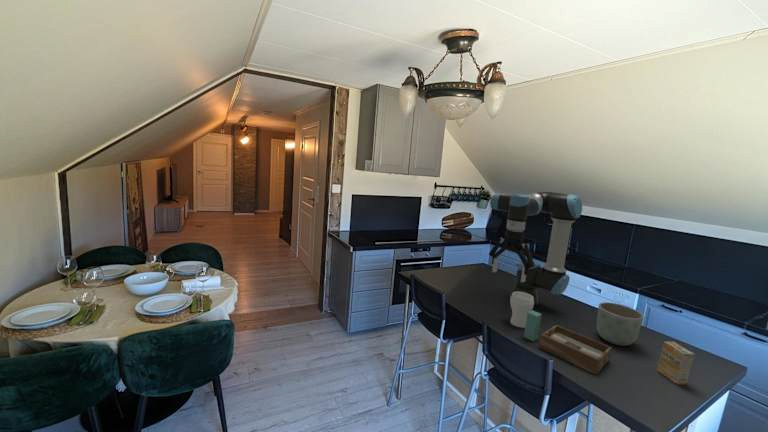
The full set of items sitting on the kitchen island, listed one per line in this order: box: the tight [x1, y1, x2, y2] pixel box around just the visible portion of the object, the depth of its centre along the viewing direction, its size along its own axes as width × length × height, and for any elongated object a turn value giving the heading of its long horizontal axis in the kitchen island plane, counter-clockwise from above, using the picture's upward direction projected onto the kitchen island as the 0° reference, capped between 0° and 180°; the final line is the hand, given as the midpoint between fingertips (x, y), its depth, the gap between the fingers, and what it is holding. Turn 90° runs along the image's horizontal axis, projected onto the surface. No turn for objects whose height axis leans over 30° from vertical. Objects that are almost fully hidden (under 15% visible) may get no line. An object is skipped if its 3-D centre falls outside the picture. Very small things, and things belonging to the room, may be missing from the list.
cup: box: [509, 292, 535, 329], centre depth 160 cm, size 11×11×15 cm
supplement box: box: [656, 341, 695, 385], centre depth 125 cm, size 8×5×13 cm, turn 5°
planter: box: [596, 301, 645, 347], centre depth 151 cm, size 17×17×15 cm
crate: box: [538, 324, 613, 375], centre depth 138 cm, size 16×22×6 cm
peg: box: [523, 309, 543, 342], centre depth 148 cm, size 4×4×12 cm
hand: (508, 276), depth 145 cm, fingers open, 13 cm apart
